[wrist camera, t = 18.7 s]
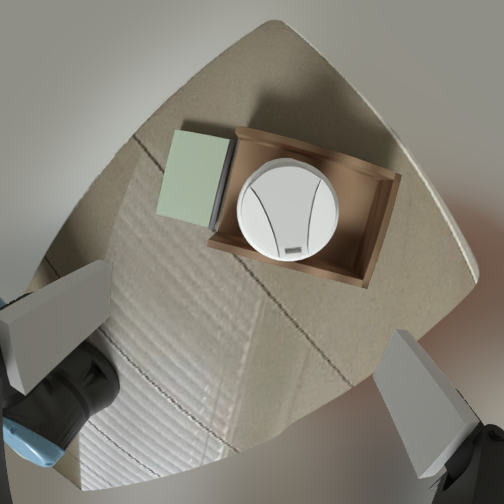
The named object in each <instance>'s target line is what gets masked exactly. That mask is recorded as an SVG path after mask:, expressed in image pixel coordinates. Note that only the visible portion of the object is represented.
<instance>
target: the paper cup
mask: <svg viewBox="0 0 504 504" xmlns="http://www.w3.org/2000/svg"><path fill="white" fill-rule="evenodd" d="M338 217H339V204H338V198H337V195H336V192H335V190H334V188H333V186H332V184H331V183H330V181H329V180H328V179H327V177H326V176H325V175H324V174H323V173H322V172H321V171H319V170H318V169H316V168H315V167H313V166H311V165H309V164H307V163H304V162H301V161H298V160H295V159H292V158H280V159H275V160H272V161H269V162H266V163H265V164H264V165H263V166H261V167H260V168H259V169H258V170H257V171H255V172H254V173H253V174H252V175H251V176H250V177H249V178H248V179H247V181H246V182H245V184H244V185H243V187H242V190H241V192H240V195H239V198H238V204H237V218H238V222H239V226H240V229H241V231H242V233H243V235H244V237H245V238H246V240H247V241H248V242H249V244H250V245H251V246H252V247H253V248H254V249H256V250H257V251H258V252H260V253H261V254H263V255H265V256H267V257H269V258H272V259H275V260H279V261H297V260H302V259H305V258H307V257H310V256H312V255H314V254H315V253H317V252H318V251H319V250H321V249H322V248H323V247H324V246H325V245H326V244H327V243H328V241H329V240H330V239H331V237H332V235H333V233H334V231H335V229H336V226H337V223H338Z"/></svg>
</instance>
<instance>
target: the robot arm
mask: <svg viewBox="0 0 504 504" xmlns="http://www.w3.org/2000/svg"><path fill="white" fill-rule="evenodd" d="M112 265H113V263H110V262H107V261H103V260H100V259H98V260H96V261H94V262H92V263H90V264H88V265H86V266H84V267H82V268H80V269H78V270H76V271H74V272H72V273H70V274H68V275H66V276H64V277H62V278H60V279H58V280H56V281H54V282H52V283H50V284H48V285H47V286H45V287H43V288H41V289H39V290H37V291H35V292H31V293H27V294H24V295H22V296H21V297H19V298H17V299H16V300H13V301H11V302H10V303H9V304H6V303H5V302H4V300H3V299H1V298H0V504H13V503H12V498H11V493H10V487H9V482H8V475H7V468H6V460H5V451H4V441H5V442H6V443H7V444H8V445H9V446H10V447H12V448H13V449H14V450H15V451H16V452H18V453H19V454H20V455H22V456H23V457H25V458H26V459H28V460H29V461H31V462H33V463H35V464H37V465H39V466H43V467H51V466H53V465H54V464H55V463H56V462H57V461H58V460H59V459H60V458H61V457H62V455H64V454H65V451H66V450H67V448H68V447H69V445H70V444H71V442H72V441H73V440H74V438H75V437H76V435H77V434H78V432H79V431H80V430H81V428H82V427H83V425H84V424H85V423H86V421H87V420H88V419H89V417H90V416H92V415H94V414H96V413H97V412H99V411H101V410H102V409H104V408H106V407H108V406H109V405H110V404H111V403H112V402H113V401H114V399H115V398H116V397H117V395H118V393H119V382H118V378H117V375H116V373H115V371H114V369H113V368H112V366H111V364H110V363H109V362H108V360H107V359H106V358H105V357H104V356H103V355H102V354H101V353H100V352H99V351H98V350H97V349H96V348H95V347H93V346H92V345H91V344H89V343H88V342H86V341H84V340H85V339H86V338H87V337H88V336H89V335H90V334H91V333H92V332H94V331H95V330H96V329H97V328H98V327H99V326H100V325H101V324H102V323H104V322H105V321H106V320H107V319H108V318H109V317H110V300H111V280H112ZM373 378H374V380H375V382H376V384H377V387H378V389H379V391H380V393H381V395H382V397H383V399H384V401H385V403H386V405H387V408H388V410H389V412H390V414H391V416H392V419H393V420H394V423H395V425H396V427H397V429H398V432H399V434H400V436H401V438H402V441H403V443H404V446H405V448H406V450H407V452H408V455H409V457H410V460H411V462H412V464H413V467H414V469H415V472H416V474H417V476H418V478H424V477H430V476H434V475H435V474H436V473H437V472H438V471H439V470H440V469H441V468H442V467H443V466H444V465H445V467H446V469H447V471H446V472H445V473H444V474H443V475H442V476H441V478H439V479H438V480H437V481H436V482H435V483H434V484H433V485H432V486H431V487H430V489H429V490H430V491H431V490H432V489H433V488H435V487H436V486H438V488H437V490H436V491H435V493H436V494H435V496H434V499H433V501H432V504H504V431H503V430H502V429H501V428H500V427H498V426H496V425H493V424H487V425H486V426H484V425H483V423H482V422H481V420H480V419H479V418H478V417H477V415H476V414H475V413H474V411H473V410H472V408H471V407H470V406H468V403H467V402H466V400H464V398H463V396H462V395H461V394H460V392H459V391H458V390H457V389H456V388H454V386H453V385H452V384H451V382H450V381H449V380H448V379H447V378H446V376H445V375H444V374H443V373H442V371H441V370H440V369H439V367H438V366H437V365H436V364H435V363H434V361H433V360H432V359H431V358H430V357H429V355H428V354H427V353H426V352H425V351H424V349H423V348H422V347H421V346H420V345H419V343H418V342H417V341H416V340H415V339H414V337H413V336H412V335H411V334H410V333H409V332H408V331H407V330H401V329H394V331H393V334H392V336H391V338H390V340H389V343H388V345H387V347H386V349H385V351H384V354H383V356H382V358H381V360H380V362H379V364H378V366H377V368H376V370H375V372H374V374H373Z"/></svg>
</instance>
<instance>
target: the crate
mask: <svg viewBox="0 0 504 504" xmlns="http://www.w3.org/2000/svg"><path fill="white" fill-rule="evenodd" d="M235 133H236V135H237V136H238V137H239V138H240V144H239V148H238V152H237V155H236V159H235V163H234V167H233V171H232V175H231V179H230V183H229V187H228V191H227V195H226V199H225V203H224V207H223V212H222V216H221V220H220V224H219V229H218V232H217V233H216V234H214V235H213V236H212V237H211V238H210V239H209V240H208V244H207V247H211V248H214V249H218V250H222V251H225V252H229V253H233V254H237V255H240V256H244V257H248V258H252V259H255V260H259V261H263V262H267V263H270V264H274V265H278V266H282V267H286V268H289V269H293V270H297V271H301V272H304V273H308V274H312V275H316V276H320V277H323V278H327V279H331V280H335V281H339V282H343V283H346V284H350V285H354V286H358V287H362V288H366V289H367V288H368V285H369V282H370V280H371V277H372V274H373V271H374V268H375V265H376V262H377V259H378V257H379V253H380V250H381V247H382V244H383V241H384V238H385V235H386V231H387V228H388V225H389V221H390V218H391V214H392V211H393V207H394V204H395V200H396V196H397V192H398V188H399V184H400V180H401V176H402V175H400V174H398V173H395V172H393V171H390V170H388V169H385V168H383V167H380V166H377V165H374V164H372V163H369V162H366V161H363V160H361V159H358V158H355V157H352V156H349V155H346V154H343V153H340V152H337V151H333V150H330V149H327V148H324V147H321V146H317V145H314V144H310V143H307V142H303V141H300V140H296V139H293V138H289V137H285V136H281V135H277V134H273V133H269V132H265V131H261V130H256V129H252V128H248V127H243V126H238V125H237V126H236V130H235ZM280 158H292V159H295V160H298V161H301V162H304V163H307V164H309V165H311V166H313V167H315V168H316V169H318V170H319V171H321V172H322V173H323V174H324V175H325V176H326V177H327V179H328V180H329V181H330V183H331V184H332V186H333V188H334V190H335V192H336V195H337V198H338V204H339V217H338V223H337V226H336V229H335V231H334V233H333V235H332V237H331V239H330V240H329V241H328V243H327V244H326V245H325V246H324V247H323V248H322V249H321V250H319V251H318V252H317V253H315V254H314V255H312V256H310V257H307V258H305V259H302V260H297V261H279V260H275V259H272V258H269V257H267V256H265V255H263V254H261V253H260V252H258V251H257V250H256V249H254V248H253V247H252V246H251V245H250V244H249V242H248V241H247V240H246V238H245V237H244V235H243V233H242V231H241V229H240V226H239V222H238V218H237V204H238V198H239V195H240V192H241V190H242V187H243V185H244V184H245V182H246V181H247V179H248V178H249V177H250V176H251V175H252V174H253V173H254V172H255V171H257V170H258V169H259V168H260V167H261V166H263V165H264V164H265V163H266V162H269V161H272V160H275V159H280Z"/></svg>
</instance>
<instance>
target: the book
mask: <svg viewBox="0 0 504 504" xmlns="http://www.w3.org/2000/svg"><path fill="white" fill-rule="evenodd" d="M235 142H236V140H235V139H225V138H220V137H215V136H209V135H204V134H199V133H193V132H187V131H181V130H175V132H174V136H173V140H172V144H171V148H170V152H169V156H168V160H167V165H166V169H165V173H164V178H163V182H162V187H161V192H160V197H159V201H158V207H157V212H156V214H159V215H163V216H167V217H171V218H175V219H179V220H183V221H186V222H190V223H194V224H198V225H202V226H206V227H208V228H210V229H214V227H215V223H216V219H217V214H218V210H219V206H220V202H221V198H222V194H223V189H224V185H225V181H226V177H227V173H228V169H229V165H230V162H231V158H232V154H233V150H234V146H235Z"/></svg>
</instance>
